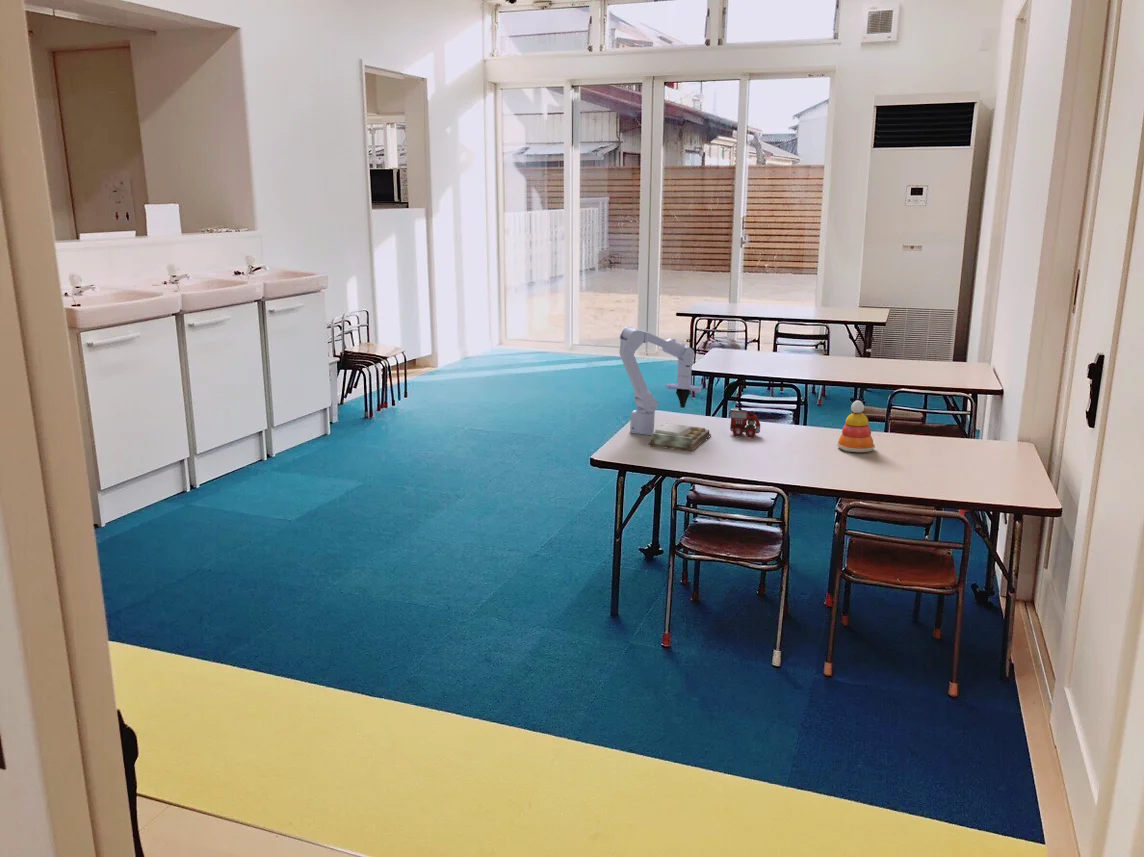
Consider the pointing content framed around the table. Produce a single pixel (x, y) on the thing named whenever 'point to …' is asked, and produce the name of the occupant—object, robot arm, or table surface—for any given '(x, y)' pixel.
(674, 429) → the stone slab
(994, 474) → the table surface
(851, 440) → the stacking toy
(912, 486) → the table surface
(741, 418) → the toy fire truck
